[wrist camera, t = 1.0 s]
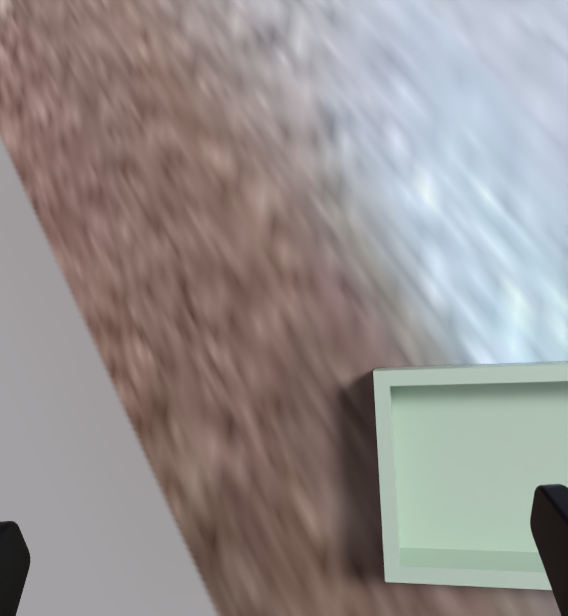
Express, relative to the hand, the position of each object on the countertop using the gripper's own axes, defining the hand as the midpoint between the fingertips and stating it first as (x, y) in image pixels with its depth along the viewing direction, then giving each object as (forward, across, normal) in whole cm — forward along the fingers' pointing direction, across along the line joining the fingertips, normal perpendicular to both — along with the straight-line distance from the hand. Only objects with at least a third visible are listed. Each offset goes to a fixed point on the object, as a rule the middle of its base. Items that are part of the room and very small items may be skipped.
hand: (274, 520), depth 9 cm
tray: (+10, -9, +8) cm, 16 cm away
